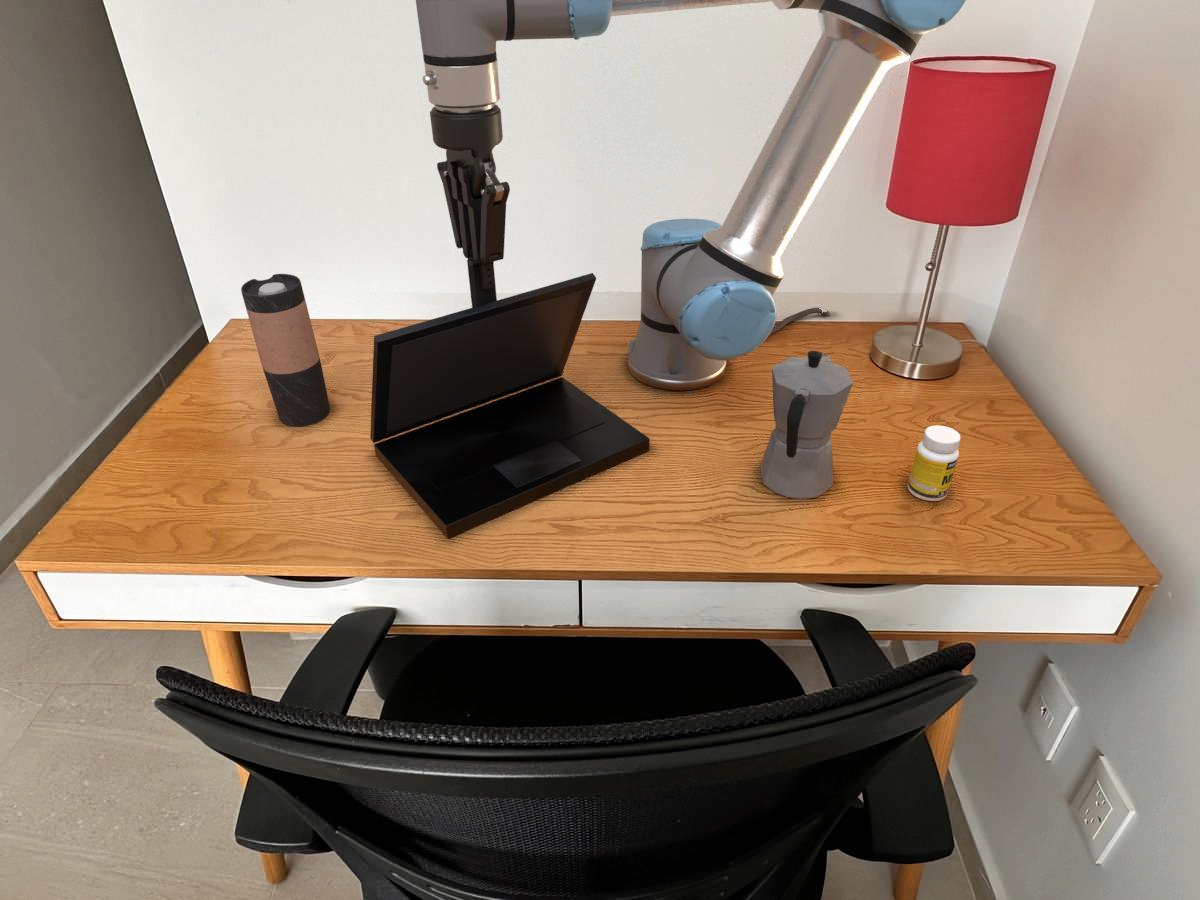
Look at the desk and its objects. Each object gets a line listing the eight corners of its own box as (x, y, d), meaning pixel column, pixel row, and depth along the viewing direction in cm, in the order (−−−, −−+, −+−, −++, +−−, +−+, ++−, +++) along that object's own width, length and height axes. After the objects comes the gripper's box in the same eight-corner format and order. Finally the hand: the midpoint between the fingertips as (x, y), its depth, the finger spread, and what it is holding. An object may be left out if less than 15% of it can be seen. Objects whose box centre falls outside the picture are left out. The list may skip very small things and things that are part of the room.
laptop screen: (597, 278, 102) (592, 272, 103) (377, 343, 88) (373, 335, 88) (562, 376, 119) (558, 371, 120) (373, 444, 105) (369, 437, 105)
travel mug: (316, 430, 112) (282, 298, 100) (267, 425, 113) (227, 293, 102) (341, 402, 118) (311, 275, 106) (294, 398, 119) (260, 271, 108)
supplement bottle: (942, 507, 96) (959, 449, 91) (902, 494, 98) (917, 437, 93) (951, 486, 99) (967, 430, 94) (912, 474, 101) (927, 419, 96)
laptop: (649, 450, 106) (649, 437, 105) (448, 539, 92) (445, 525, 91) (562, 388, 121) (562, 376, 119) (376, 456, 106) (373, 443, 105)
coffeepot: (772, 443, 108) (788, 321, 97) (842, 459, 104) (867, 335, 94) (739, 508, 96) (754, 378, 86) (817, 529, 93) (842, 396, 83)
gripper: (406, 99, 87) (434, 300, 100) (461, 121, 78) (483, 337, 92) (467, 91, 90) (486, 286, 104) (526, 110, 82) (538, 320, 95)
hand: (485, 310), depth 98 cm, fingers closed
